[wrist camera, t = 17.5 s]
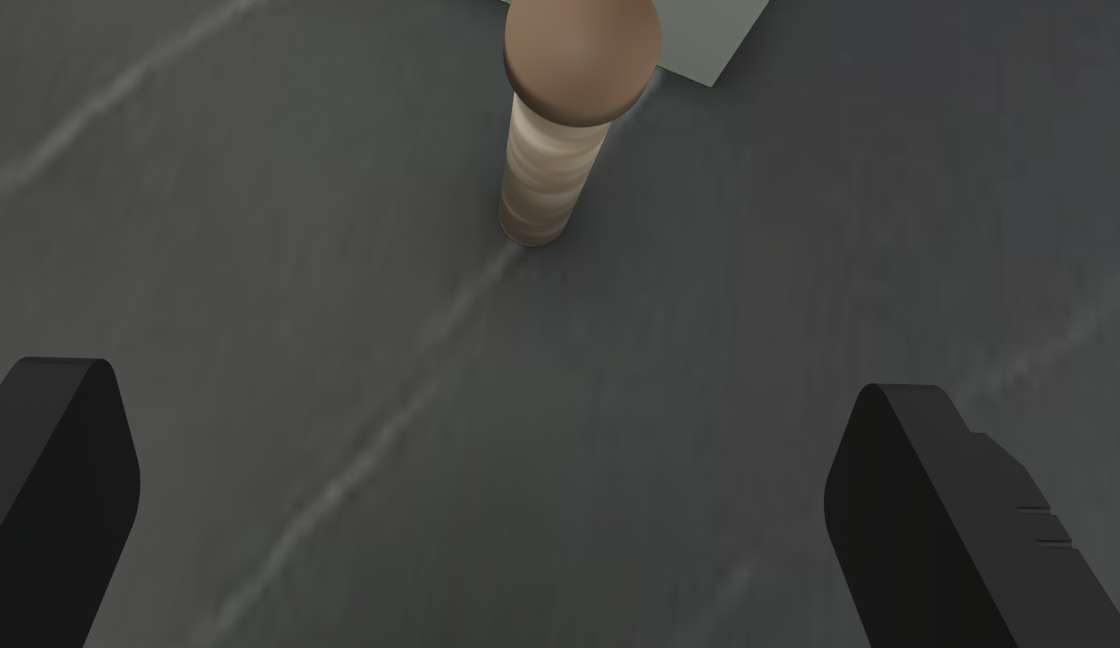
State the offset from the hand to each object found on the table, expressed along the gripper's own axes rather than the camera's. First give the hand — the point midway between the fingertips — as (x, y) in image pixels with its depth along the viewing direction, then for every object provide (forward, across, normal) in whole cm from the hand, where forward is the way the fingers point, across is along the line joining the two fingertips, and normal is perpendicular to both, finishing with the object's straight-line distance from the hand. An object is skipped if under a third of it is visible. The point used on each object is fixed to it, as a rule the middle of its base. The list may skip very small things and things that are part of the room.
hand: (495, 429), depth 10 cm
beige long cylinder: (+31, -3, +15) cm, 35 cm away
